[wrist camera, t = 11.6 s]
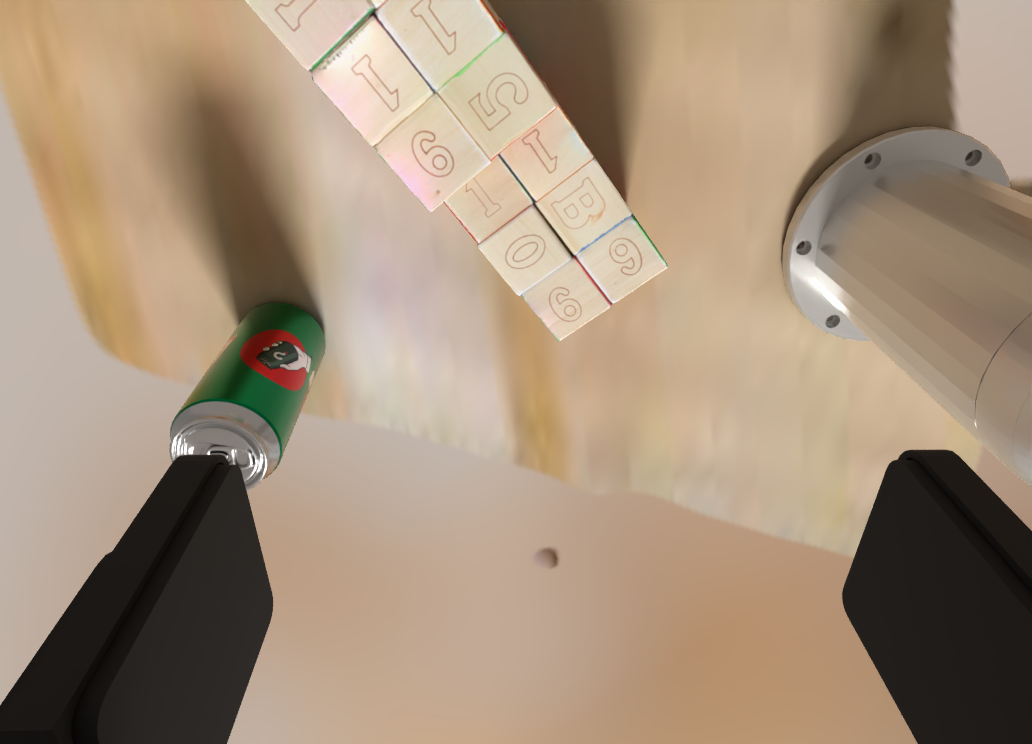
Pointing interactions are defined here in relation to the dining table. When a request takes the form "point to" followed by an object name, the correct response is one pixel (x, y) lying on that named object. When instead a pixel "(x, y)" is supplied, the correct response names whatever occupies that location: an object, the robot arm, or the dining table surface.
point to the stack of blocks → (476, 142)
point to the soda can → (252, 392)
